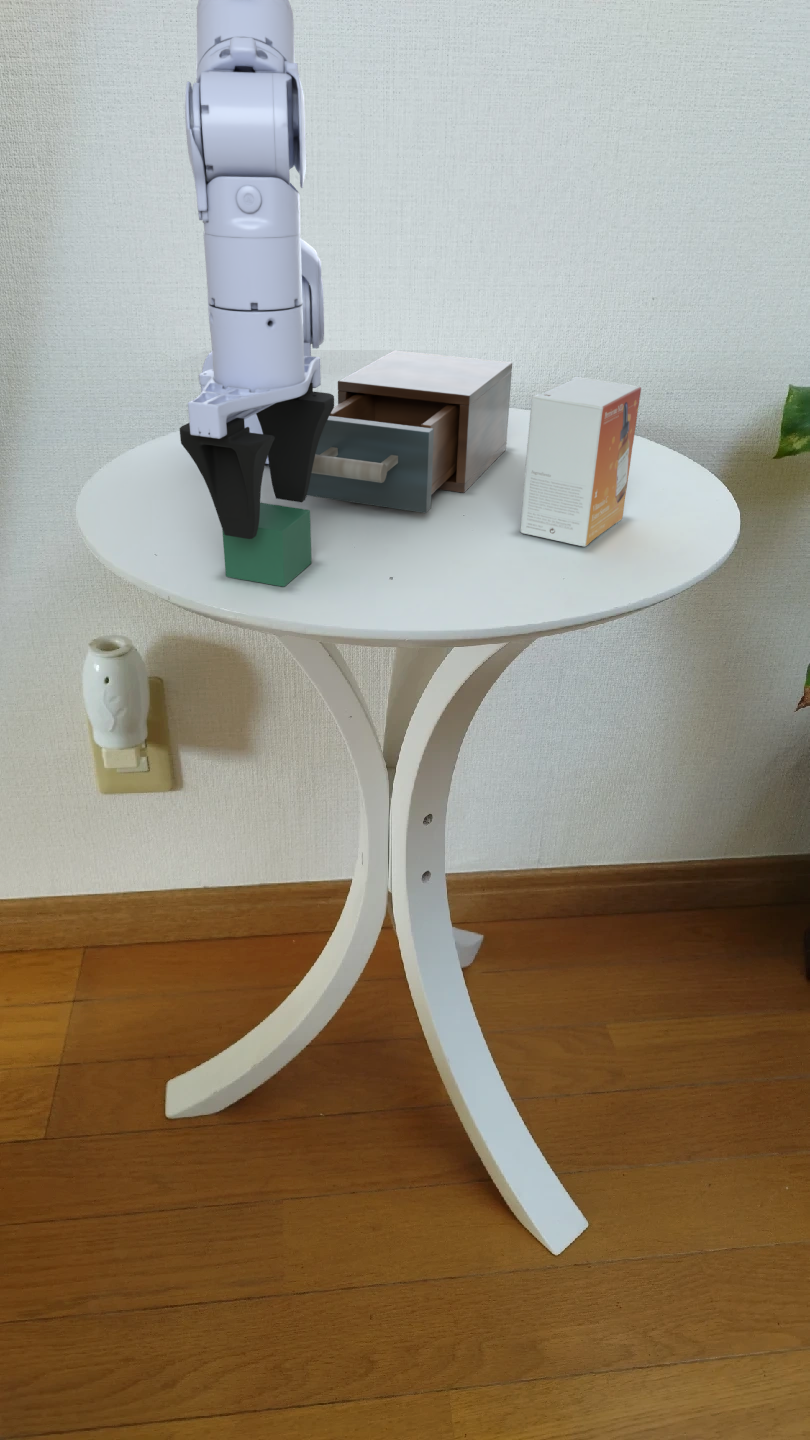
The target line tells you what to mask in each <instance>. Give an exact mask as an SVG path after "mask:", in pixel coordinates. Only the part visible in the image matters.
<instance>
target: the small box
mask: <svg viewBox="0 0 810 1440" xmlns="http://www.w3.org/2000/svg"><path fill="white" fill-rule="evenodd" d="M641 393H642V387H641V386H639V385H635V384H634V385H633V384H629V383H628V384H627V383H621V382H615V381H608V380H601V379H596V378H595V379H594V378H588V377H582V376H574V377H572V378H571V379H569V380H567V381H565V382H564V383H561V384H559V385H557V386H555V387H552V388H550V389H548V390H546V391H543V392H541V393H536V394H534V395H532V396H531V400H530V412H529V413H530V414H529V424H528V425H529V426H528V435H527V445H526V446H527V447H526V457H525V459H526V460H525V469H524V481H523V483H524V484H523V492H522V504H521V518H520V527H519V528H520V533H521V534H524V535H529V536H534V537H537V538H538V537H539V538H543V539H547V540H552V541H556V542H561V543H565V544H570V545H574V546H579V547H588V545H589V544H590V543H591V542H592V541H594V540H595V539H596V538H598V537H599V536H600V535H602V534H603V533H605V532H606V531H607V530H608V529H610V528H612V527H614V525H615V524H617V523H619V522H621V521H622V520H623V516H624V510H625V503H626V502H625V501H626V496H627V487H628V481H629V476H630V468H631V462H632V453H633V446H634V441H635V433H636V426H637V419H638V413H639V407H640V400H641V399H640V398H641Z"/></svg>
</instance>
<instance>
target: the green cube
mask: <svg viewBox="0 0 810 1440" xmlns="http://www.w3.org/2000/svg"><path fill="white" fill-rule="evenodd" d="M311 527H312V526H311V510H310V509H305V508H300V507H299V508H298V507H294V506H293V507H292V506H285V505H279V504H273V503H266V502H260V517H259V526H258V531H257V535H256V536H255V537H254V538H252V539H246V538H240V537H233V536H227V535H225V534H224V532H223V529H222V528H221V529H222V531H221V533H222V545H223V557H224V558H223V559H224V570H225V577H226V578H231V579H236V580H237V579H238V580H243V581H249V582H254V583H260V584H266V585H271V586H277V587H286V586H287V585H288V584H289V583H291V582H292V581H293V580H294V579H295V578H297V576H299V575H300V574H302V572H303V571H304V570H306V569H307V568H308V567H309V566H310V565H311V564H312V533H311V531H312V530H311Z"/></svg>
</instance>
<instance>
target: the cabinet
mask: <svg viewBox="0 0 810 1440" xmlns="http://www.w3.org/2000/svg"><path fill="white" fill-rule="evenodd" d="M512 374H513V362H512V361H503V360H496V359H495V360H494V359H485V358H474V357H464V356H454V355H445V354H434V353H426V352H425V353H424V352H415V351H405V350H395V349H393V350H392V351H391V352H389V353H387V354H385V355H383V356H381V357H379V358H378V359H376V360H373V361H372V362H370V363H367V365H365V366H362V367H361V368H359V369H357V370H355V371H354V372H352V373H349V374H348V375H346V376H344V377H343V378H341V379H339V380H338V381H337V405H338V404H340V403H342V402H343V401H345V400H347V399H349V398H350V397H352V396H354V395H355V394H357V393H363V394H372V395H381V396H390V397H398V398H407V399H416V400H425V401H433V402H442V403H451V404H459V405H460V412H459V432H458V452H457V471H456V472H455V473H454V474H453V475H452V476H451V477H450V478H448V479H447V480H446V481H445V482H444V483H443V484H442V485H441V486H440V487H439V488H438V489H437V490H441V491H450V492H457V493H466V492H467V490H468V489H470V487H472V485H474V483H475V482H477V480H478V479H479V478H480V477H481V476H482V475H483V474H484V473H485V472H486V471H487V470H488V469H489V468H490V467H491V466H492V465H493V463H495V462H496V460H498V458H500V456H501V455H502V454H503V453H504V452H505V451H506V450H507V441H508V430H509V429H508V428H509V427H508V425H509V414H510V402H511V401H510V399H511V388H512V376H513V375H512Z"/></svg>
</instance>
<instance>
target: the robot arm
mask: <svg viewBox="0 0 810 1440" xmlns="http://www.w3.org/2000/svg"><path fill="white" fill-rule="evenodd" d="M196 5H197V6H196V43H195V44H196V45H195V46H196V47H195V48H196V49H195V50H196V54H195V55H196V56H195V60H196V61H195V82H193V84H192V83H191V81H187V82H186V85H185V92H184V116H185V117H184V119H185V136H186V145H187V153H188V159H189V165H190V169H191V170H190V171H191V172H192V176H193V177H192V178H193V182H194V187H195V193H196V195H195V196H196V205H197V214H198V220H199V221H202V223H203V229H204V230H203V232H202V233H203V247H204V262H205V273H206V275H205V276H206V286H207V310H208V323H209V324H208V325H209V332H210V340H211V342H210V343H211V351H210V352H209V353H208V354H207V356H206V357H205V359H204V361H203V364H202V370H201V372H200V373H198V385H200V394H199V395H198V396H197V397H195V398H193V399H192V400H190V401H188V402H187V410H188V411H187V413H188V423H186V424H183V425H182V426H180V427H179V439H180V444H181V445H182V446H183V448H184V449H185V451H186V452H187V453H188V455H189V456H190V458H191V459H192V460H193V462H194V463H195V465H196V467H197V468H198V470H199V472H200V474H201V476H202V478H203V480H204V482H205V485H206V487H207V489H208V492H209V495H210V497H211V500H212V503H213V505H214V508H215V511H216V514H217V518H218V520H219V524H220V526H221V529H223V532H224V534H225V535H227V536H233V537H240V538H246V539H252V538H254V537H255V536H256V535H257V531H258V526H259V517H260V503H261V494H262V493H261V492H262V484H263V476H264V471H265V466H266V465H268V466H269V474H270V480H271V486H272V490H273V493H274V497H275V499H276V500H283V501H288V502H294V503H295V502H297V503H304V501H306V499H307V492H308V488H309V483H310V478H311V473H312V467H313V463H314V458H315V453H316V450H317V446H318V442H319V439H320V437H321V434H322V431H323V428H324V426H325V424H326V422H327V419H328V417H329V415H330V414H331V412H332V410H333V408H334V407H335V396H334V394H332V393H329V392H323V391H322V392H321V391H314V389H316V388H318V387H320V386H321V385H322V383H321V381H322V380H321V378H322V377H321V376H322V374H321V373H322V372H321V357H320V356H313V355H312V349H313V350H314V349H319V348H320V346H321V345H322V344H323V343H324V341H325V305H324V304H325V302H324V284H323V283H324V281H323V277H322V261H321V258H320V257H319V255H318V251H316V249H315V248H314V247H313V246H311V245H310V244H309V243H308V242H306V241H305V240H304V239H303V238H301V203H300V202H301V201H300V200H301V199H300V198H301V196H300V192H299V191H298V189H297V188H296V187H295V185H293V184H292V182H291V180H290V179H291V178H290V177H291V175H290V171H291V169H293V168H295V170H296V171H297V173H298V174H299V184H300V185H299V186H300V188H301V189H303V187H304V182H305V177H306V171H307V143H306V140H307V139H306V135H307V134H306V106H305V105H306V104H305V93H304V89H303V85H302V82H301V76H300V72H299V65H298V63H297V62H296V54H295V53H296V52H295V23H294V22H295V21H294V13H293V8H292V5H291V4H290V0H197V4H196ZM223 532H222V533H223Z"/></svg>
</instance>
